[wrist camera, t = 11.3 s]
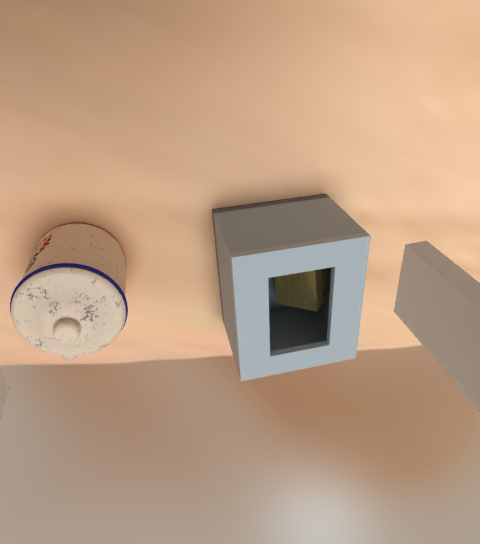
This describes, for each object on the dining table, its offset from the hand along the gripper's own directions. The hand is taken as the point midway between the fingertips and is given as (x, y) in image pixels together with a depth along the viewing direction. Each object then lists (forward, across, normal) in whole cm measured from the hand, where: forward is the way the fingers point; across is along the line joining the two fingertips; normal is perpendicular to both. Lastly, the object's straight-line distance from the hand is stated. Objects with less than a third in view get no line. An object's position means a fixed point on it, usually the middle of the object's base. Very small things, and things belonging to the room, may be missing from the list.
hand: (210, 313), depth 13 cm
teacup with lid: (+28, -10, -14) cm, 33 cm away
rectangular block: (+26, +10, -17) cm, 32 cm away
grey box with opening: (+28, +10, -16) cm, 34 cm away
